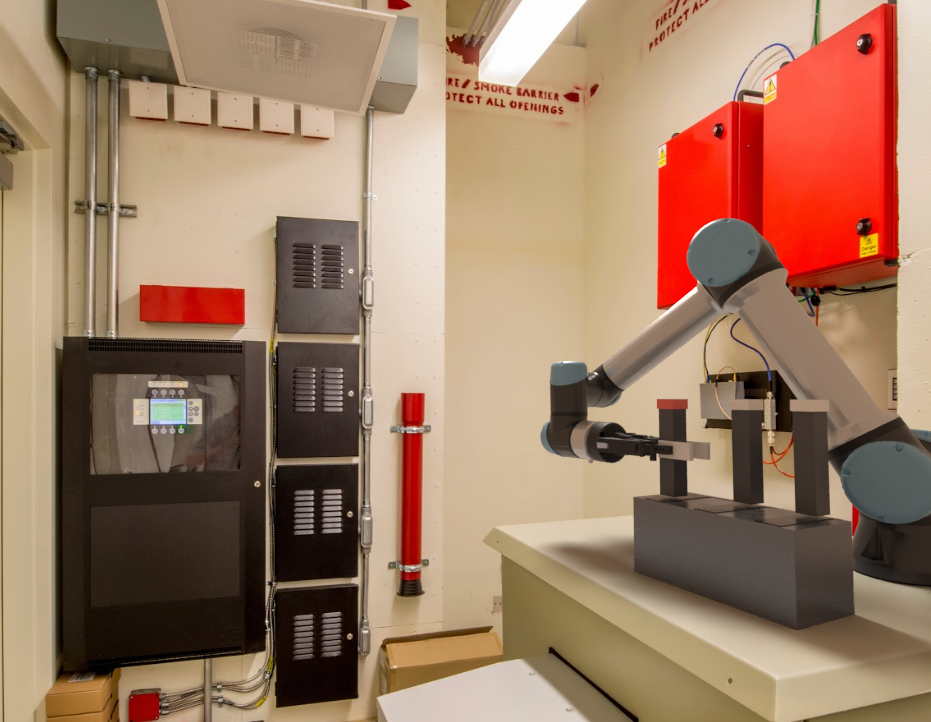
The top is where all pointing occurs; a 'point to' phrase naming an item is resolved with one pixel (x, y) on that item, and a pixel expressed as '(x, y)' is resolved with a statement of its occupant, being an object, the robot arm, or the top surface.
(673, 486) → the post
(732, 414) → the post
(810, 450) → the post
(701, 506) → the dark grey block
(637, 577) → the top surface
